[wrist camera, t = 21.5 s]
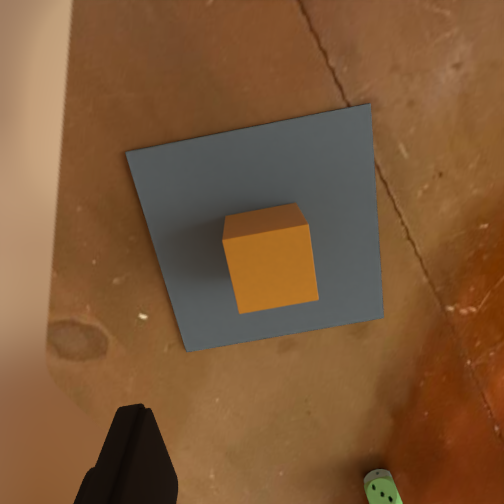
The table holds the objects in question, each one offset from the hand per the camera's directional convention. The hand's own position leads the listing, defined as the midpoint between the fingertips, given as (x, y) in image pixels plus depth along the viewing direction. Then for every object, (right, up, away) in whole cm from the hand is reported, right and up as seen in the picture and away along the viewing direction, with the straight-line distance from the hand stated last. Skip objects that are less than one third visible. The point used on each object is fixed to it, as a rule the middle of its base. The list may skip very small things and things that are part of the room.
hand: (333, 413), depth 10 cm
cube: (-1, +5, +17) cm, 18 cm away
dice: (+10, -18, +27) cm, 34 cm away
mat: (-1, +5, +17) cm, 18 cm away
